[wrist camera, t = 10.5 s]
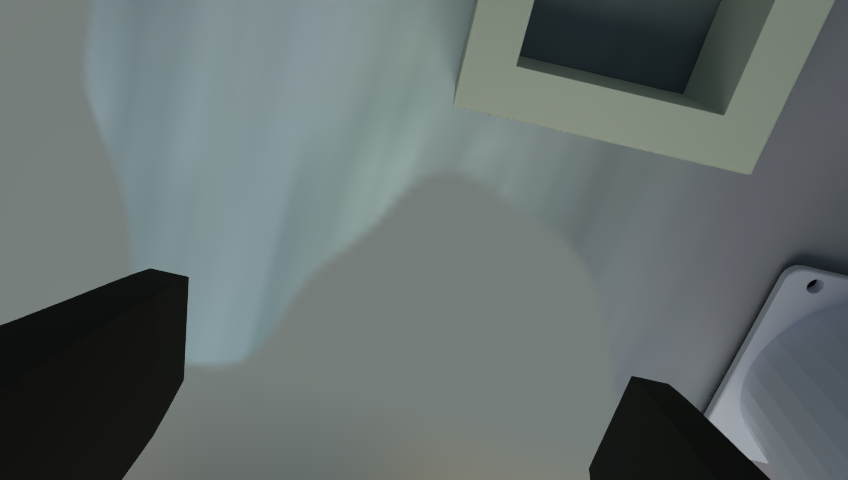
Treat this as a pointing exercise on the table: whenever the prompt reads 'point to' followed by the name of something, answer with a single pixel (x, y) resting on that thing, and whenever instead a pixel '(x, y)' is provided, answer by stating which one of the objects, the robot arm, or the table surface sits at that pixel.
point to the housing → (642, 105)
